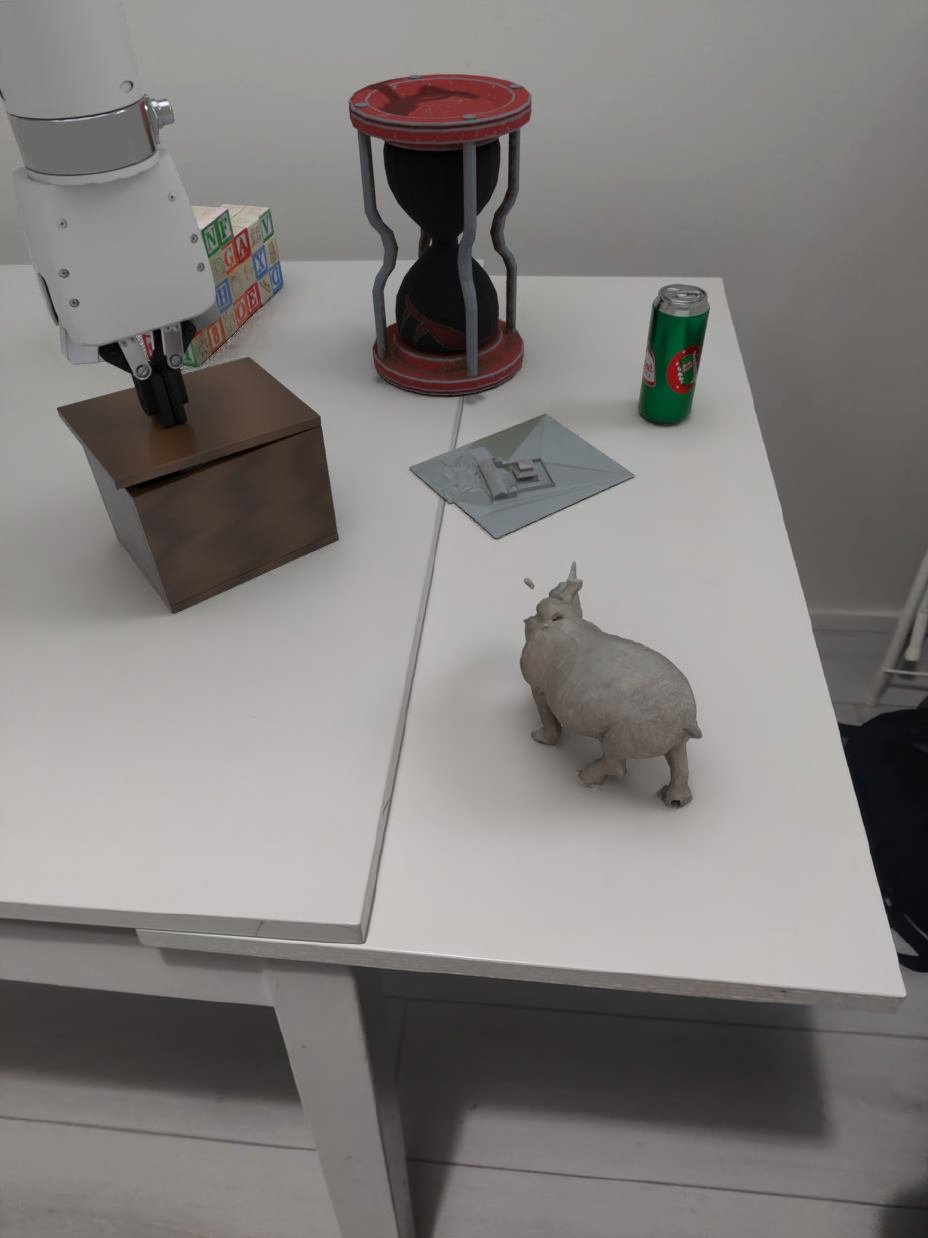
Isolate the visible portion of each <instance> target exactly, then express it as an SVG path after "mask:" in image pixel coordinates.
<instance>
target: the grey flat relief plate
mask: <svg viewBox="0 0 928 1238" xmlns="http://www.w3.org/2000/svg"><path fill="white" fill-rule="evenodd" d="M408 469H410V470H411V471H412V472H413V473H415V474H416V475H417V476H418V477H419V478H420V479H421V480H423V482H424V483H425V484H427V485H428V486H429V487H430V488H432V489H433V490H434V491H435V492H436V493H437V494H438V495H439V496H440V497H442V498H444V499H445V500H446V501H447V503H448V504H452V503H455V504H456V506H458V507H459V508H460V509H462V510H463V511H464V512H465V513H466V514H467V515H468V516H470V517H471V518H472V519H473V520H474V521H475V522H476V523H477V524H479V525H480V526H481V527H482V528H483V529H484V530H485V531H487V532H488V533H489V534H490V535H491V536H492V537H494V538H495V539H498V538H501V537H504V536H505V535H507V534H509V533H511V532H513V531H516V530H518V529H521V528H523V527H525V526H527V525H529V524H532V523H535V522H536V521H538V520H540V519H542V518H544V517H547V516H549V515H551V514H553V513H556V512H558V511H560V510H562V509H564V508H565V509H566V508H567V507H569V506H572V505H573V504H575V503H578V502H580V501H583V500H584V499H586V498H589V497H591V496H593V495H595V494H597V493H599V492H602V491H605V490H606V489H608V488H610V487H613V486H615V485H617V484H620V483H622V482H624V481H627V480H628V479H630V478H633V477H635V476H636V474H635V473H633V472H631V471H630V470H629V469H627V468H626V467H624V466H623V465H621V464H620V463H619V462H617V461H616V460H614V459H612V458H611V457H610V456H608V455H607V454H606V453H604V452H603V451H601V450H600V449H598V448H597V447H595V446H594V445H592V444H591V443H589V442H588V441H587V440H585V439H583V438H582V437H581V436H580V435H578V434H577V433H575V432H574V431H572V430H570V428H568V427H566V426H565V425H564V424H562V423H561V422H559V421H557V419H554V418H553V417H552V416H550V414H547V413H544V414H541V415H538V416H535V417H532V418H530V419H528V420H525V421H524V422H520V423H518V424H515V425H513V426H510V427H507V428H505V429H503V430H500V431H497V432H495V433H492V434H489V435H487V436H485V437H482V438H480V439H477V440H475V441H472V442H469V443H466V444H465V445H462V446H459V447H457V448H455V449H452V450H449V451H447V452H444V453H442V454H439V455H437V456H434V457H431V458H429V459H426V460H424V461H422V462H418V463H416V464H413V465H411V466H408ZM423 615H425V614H424V613H423Z"/></svg>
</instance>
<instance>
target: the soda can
mask: <svg viewBox="0 0 928 1238" xmlns="http://www.w3.org/2000/svg"><path fill="white" fill-rule="evenodd" d="M708 298H709V295H708V292H707V290H705V288H702V287H700V286H697V285H694V284H688V283H671V284H667V285H664V286H661V288H659V290H658V291H657V296H656V297H655V298H654V300H653V301H652V303H651V311H650V316H649V318H650V319H649V324H648V332H647V339H646V345H645V346H646V347H645V354H644V361H643V368H642V369H643V370H642V375H641V384H640V391H639V398H638V405H637V406H638V407H637V408H638V411H639V412H640V414H641V416H643V417H644V418H645V419H646V420H648V421H650V422H652V423H655V424H657V425H658V424H659V425H674V424H678V423H681V422H682V421H684V420H685V419H687V417H689V416H690V415H691V413H692V409H693V404H694V397H695V392H696V387H697V380H698V376H699V370H700V365H701V359H702V354H703V348H704V343H705V337H706V333H707V327H708V322H709V318H710V317H709V316H710V311H711V305H710V303H709V301H708V300H709V299H708Z"/></svg>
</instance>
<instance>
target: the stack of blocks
mask: <svg viewBox="0 0 928 1238" xmlns="http://www.w3.org/2000/svg"><path fill="white" fill-rule="evenodd" d="M191 207H192V210H193V212H194V215H195V218H196V221H197V224H198V227H199V230H200V233H201V236H202V239H203V242H204V246H205V249H206V252H207V256H208V259H209V263H210V267H211V271H212V275H213V279H214V284H215V291H216V300H215V301H216V303H217V305H218V307H219V309H220V311H221V317H220V319H219V320H218V321H216V322H214V323H213V324H211V325H209V326H208V327H206V328H204V329H203V330H201V331H197V332H196V334H195V336H194V338H193V339H192V341H191V343H190V345H189V347H188V348H187V350H186V352H185V354H184V364H183V366H192V367H200V366H201V365H202V364H203V363H204V362H205V361H206V360H207V359H208V358H209V357H210V356H211V355H212V354H214V353H215V352H216V351H217V350H219V348H220V347H221V346H222V345H224V344H225V342H226V341H227V340H228V339H230V338H231V337H232V336H233V335H234V334H235V333H236V332H237V331H238V330H239V328H240V327H241V326H242V325H243V324H244V323H245V322H246V321H247V320H248V319H249V318H250V317H251V316H252V315H253V314H254V313H255V312H256V311H257V310H258V309H260V307H261V306H263V305H264V304H265V303H266V302H267V301H268V300H269V299H270V298H271V297H272V296H274V295H275V294H276V293H277V292H278V291H279V290H280V289H281V288H282V287H283V286H284V278H283V273H282V266H281V261H280V253H279V247H278V240H277V236H276V234H275V229H274V225H273V223H274V222H273V218H272V212H271V208H270V207H267V206H256V205H255V206H254V205H241V204H240V205H239V204H230V203H229V204H228V203H223V204H221V205H220V206H219V207H216V206H206V205H191ZM141 337H142V341H143V345H144V348H145V351H146V355H147V359H148V361H150V358H149V357H150V356H152V352H153V349H152V343H151V336H150V332H147V333H144V334H141Z"/></svg>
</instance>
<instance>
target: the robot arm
mask: <svg viewBox="0 0 928 1238" xmlns="http://www.w3.org/2000/svg"><path fill="white" fill-rule="evenodd" d="M0 99H1V102H2V105H3V107H4V110H5V114H6V116H7V120H8V122H9V124H10V127H11V131H12V134H13V137H14V139H15V142H16V145H17V148H18V151H19V154H20V157H21V159H22V160H21V161H22V162H23V165H24V166H21V167H18V168H17V169H15V170H13V172H12V184H13V189H14V191H13V192H14V197H15V201H16V206H17V212H18V217H19V221H20V224H21V225H20V226H21V229H22V232H23V233H22V234H23V236H24V241H25V244H26V247H27V251H28V254H29V258H30V261H31V265H32V268H33V271H34V275H35V278H36V281H37V285H38V288H39V291H40V295H41V297H42V300H43V302H44V305H45V308H46V310H47V312H48V315H49V317H50V319H51V320H52V322H53V323H54V325H55V326H56V327H58V329H59V343H60V350H61V354H62V355H63V356H64V358H65V359H66V360H67V361H68V362H69V363H70V364H71V365H74V366H77V365H90V364H91V365H92V364H100V363H107V364H109V365H112V366H113V367H116V368H117V369H120V370H122V371H124V372H125V373H128V374H130V377H131V380H132V382H133V385H134V386H133V387H135V389H136V392H137V395H138V398H139V401H140V404H141V407H142V409H143V411H144V412H145V413H146V415H147V416H152V415H154V416H155V418H156V419H157V420H158V421H159V422H160V423H161V424H162V425H163V426H164V427H165V428H166V429H167V428H170V427H172V426H173V424H175V421H176V422H177V423H178V422H179V423H180V424H181V423H184V422H186V421H187V416H186V412H185V409H184V405H183V404H186V403H188V402H189V399H188V395H187V392H186V388H185V384H184V381H183V377H182V374H183V373H182V371H181V368H182V367H183V366H184V354H185V352H186V350H187V348H188V347H189V345H190V343H191V341H192V339H193V338H194V336H195V334H196V332H197V331H201V330H203V329H204V328H206V327H208V326H209V325H211V324H213V323H214V322H216V321H218V320H219V319H220V317H221V311H220V309H219V307H218V305H217V303H216V301H215V300H216V291H215V284H214V279H213V275H212V271H211V267H210V263H209V259H208V256H207V252H206V249H205V246H204V242H203V239H202V236H201V233H200V230H199V227H198V224H197V221H196V218H195V215H194V212H193V210H192V207H191V201H190V199H189V196H188V193H187V191H186V189H185V186H184V183H183V181H182V178H181V176H180V174H179V172H178V170H177V167H176V164H175V162H174V160H173V158H172V156H171V153H170V152H169V151H168V150H167V149H166V148H165V147H164V146H163V145H161V141H160V137H159V135H160V130H162V129H163V128H164V127H165V126H168V125H169V126H170V125H174V123H175V115H174V109H173V107H172V104H171V102H170V101H169V100H168V99H167V98H161V99H155V98H154V97H152V98H150V96H149V95H148V94H147V93H145V90H144V86H143V82H142V79H141V74H140V70H139V65H138V61H137V57H136V53H135V48H134V45H133V41H132V37H131V33H130V28H129V24H128V20H127V17H126V13H125V9H124V4H123V0H0ZM147 332H150V336H151V343H152V349H153V352H152V356H150V357H149V358H150V360H149V358H148V357H147V356H146V355H145V351H144V350H143V348H142V345H141V344H140V342H139V340H138V338H137V336H140V335H141V334H144V333H147ZM141 336H142V335H141Z"/></svg>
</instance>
